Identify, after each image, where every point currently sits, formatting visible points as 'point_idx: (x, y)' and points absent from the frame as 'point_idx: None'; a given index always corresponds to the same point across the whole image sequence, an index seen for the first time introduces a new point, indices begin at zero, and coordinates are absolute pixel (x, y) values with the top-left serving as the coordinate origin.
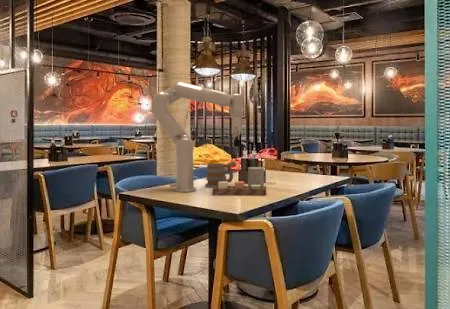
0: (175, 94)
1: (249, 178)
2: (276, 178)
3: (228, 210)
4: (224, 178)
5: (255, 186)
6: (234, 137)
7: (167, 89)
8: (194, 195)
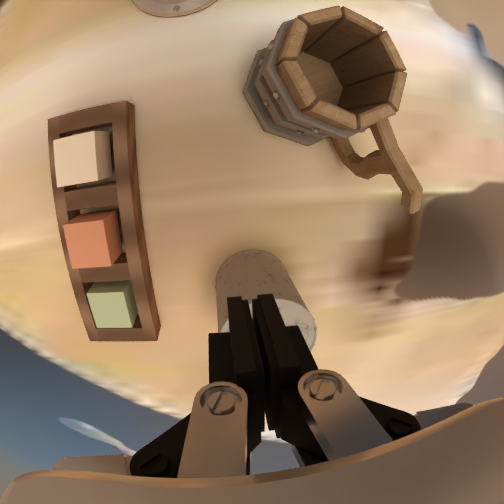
0: None
1: (231, 282)
2: (454, 323)
3: None
4: (296, 129)
5: (91, 309)
6: (185, 436)
7: None
8: (61, 52)
